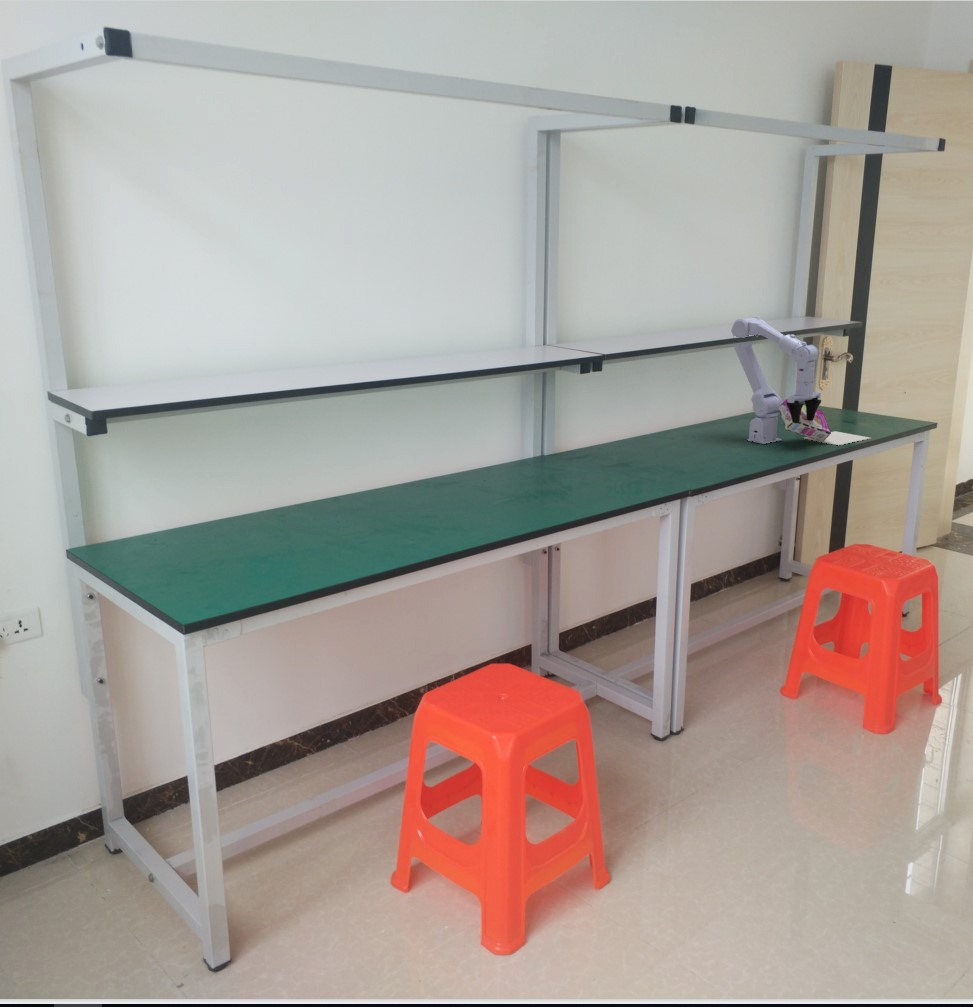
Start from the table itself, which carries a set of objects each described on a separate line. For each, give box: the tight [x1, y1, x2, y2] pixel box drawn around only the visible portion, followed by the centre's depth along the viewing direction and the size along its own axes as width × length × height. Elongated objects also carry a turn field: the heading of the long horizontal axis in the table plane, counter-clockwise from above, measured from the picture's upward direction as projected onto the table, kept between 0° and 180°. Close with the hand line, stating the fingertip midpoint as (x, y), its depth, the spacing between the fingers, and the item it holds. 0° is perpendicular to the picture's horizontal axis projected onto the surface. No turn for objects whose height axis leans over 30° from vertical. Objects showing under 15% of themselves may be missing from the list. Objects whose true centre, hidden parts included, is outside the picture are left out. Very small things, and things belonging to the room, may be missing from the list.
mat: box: [803, 430, 872, 447], centre depth 343 cm, size 18×15×1 cm
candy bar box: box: [778, 398, 832, 442], centre depth 336 cm, size 11×5×16 cm
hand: (802, 421), depth 330 cm, fingers open, 7 cm apart
